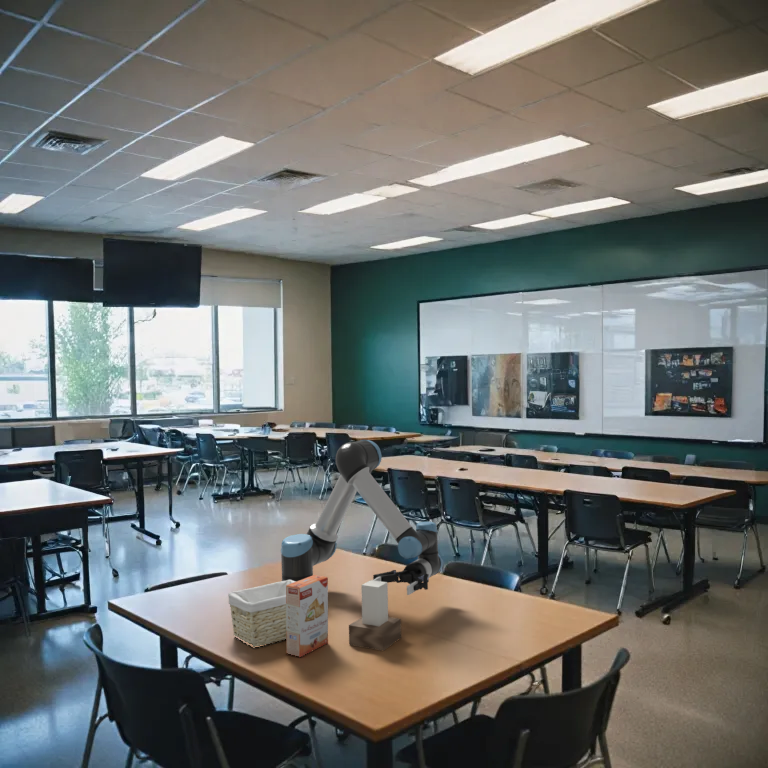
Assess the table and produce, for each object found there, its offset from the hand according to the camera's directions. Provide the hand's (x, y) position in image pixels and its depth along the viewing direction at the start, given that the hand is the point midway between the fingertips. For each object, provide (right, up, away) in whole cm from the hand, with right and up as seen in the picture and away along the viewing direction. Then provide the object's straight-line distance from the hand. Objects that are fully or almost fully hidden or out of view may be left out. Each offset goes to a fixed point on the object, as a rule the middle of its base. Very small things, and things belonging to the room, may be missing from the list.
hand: (389, 588), depth 230 cm
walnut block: (-4, -14, -9) cm, 17 cm away
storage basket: (-38, -15, -2) cm, 41 cm away
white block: (-4, -8, -8) cm, 13 cm away
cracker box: (-25, -15, -14) cm, 32 cm away
